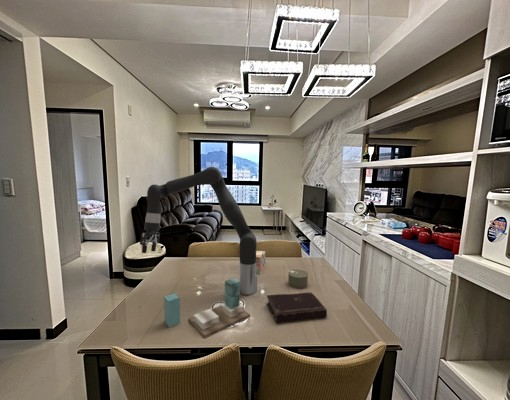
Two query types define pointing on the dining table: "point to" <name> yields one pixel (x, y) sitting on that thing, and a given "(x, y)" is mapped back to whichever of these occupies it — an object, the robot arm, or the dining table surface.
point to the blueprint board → (221, 312)
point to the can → (297, 278)
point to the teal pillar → (172, 309)
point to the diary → (295, 307)
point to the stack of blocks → (260, 261)
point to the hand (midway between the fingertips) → (148, 252)
